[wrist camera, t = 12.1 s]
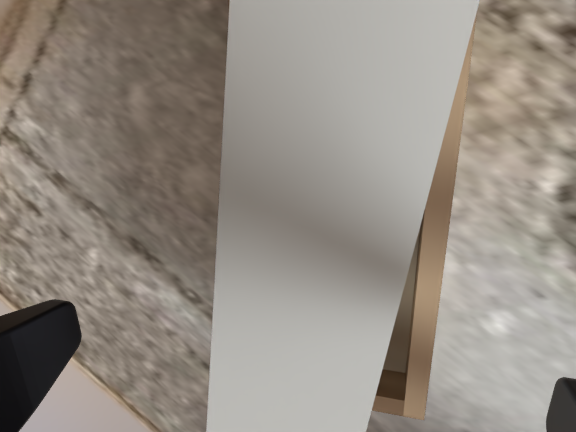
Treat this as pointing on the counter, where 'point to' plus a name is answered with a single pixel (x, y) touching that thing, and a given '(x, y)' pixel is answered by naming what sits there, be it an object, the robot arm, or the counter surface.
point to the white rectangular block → (323, 200)
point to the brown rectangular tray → (424, 279)
